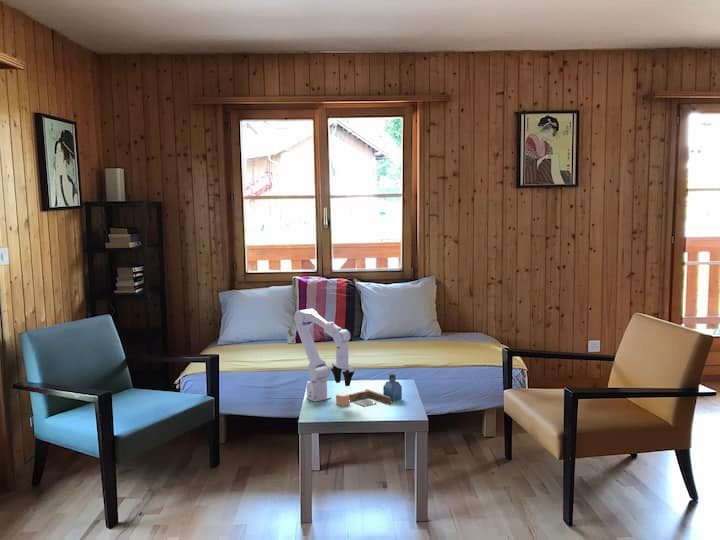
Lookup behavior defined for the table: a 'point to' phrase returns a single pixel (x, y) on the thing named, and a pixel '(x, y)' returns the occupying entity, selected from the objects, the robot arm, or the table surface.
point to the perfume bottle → (393, 388)
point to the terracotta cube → (342, 399)
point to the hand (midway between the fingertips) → (342, 384)
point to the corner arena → (368, 394)
